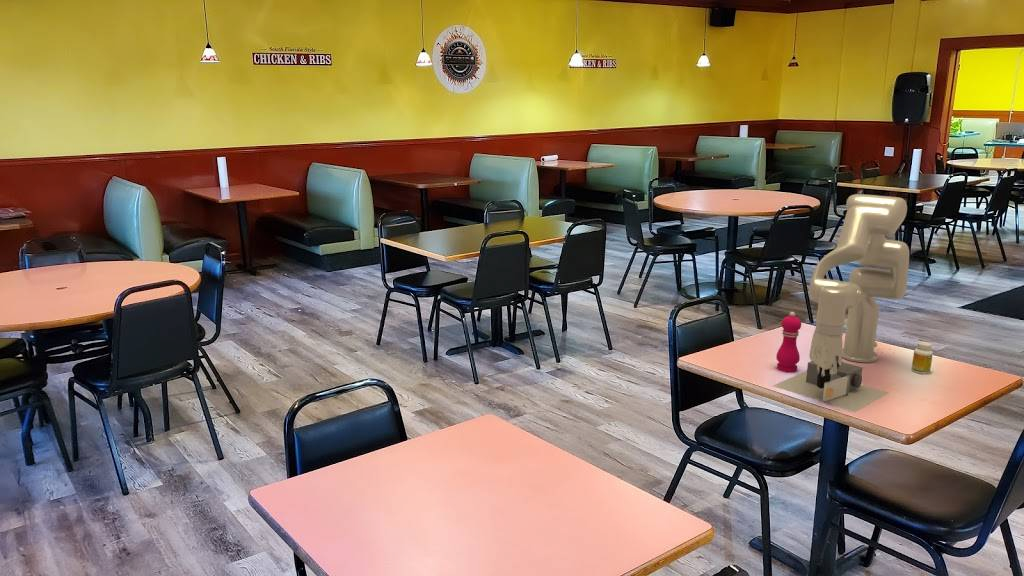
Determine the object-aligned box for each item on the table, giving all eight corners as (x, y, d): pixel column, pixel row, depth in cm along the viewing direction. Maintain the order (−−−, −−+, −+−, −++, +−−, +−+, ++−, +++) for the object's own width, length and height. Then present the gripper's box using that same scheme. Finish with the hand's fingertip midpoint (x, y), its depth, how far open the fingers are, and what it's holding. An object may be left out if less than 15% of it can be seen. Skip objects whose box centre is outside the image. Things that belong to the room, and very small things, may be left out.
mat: (808, 370, 250) (808, 369, 250) (888, 394, 231) (889, 392, 231) (772, 386, 236) (772, 385, 236) (854, 413, 217) (854, 411, 217)
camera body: (820, 375, 245) (822, 354, 243) (864, 388, 235) (867, 366, 233) (805, 382, 239) (807, 360, 237) (850, 395, 229) (853, 373, 227)
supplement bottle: (925, 375, 247) (930, 347, 244) (908, 371, 250) (912, 343, 248) (932, 371, 250) (936, 343, 248) (915, 367, 254) (919, 339, 251)
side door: (821, 401, 224) (824, 382, 222) (845, 393, 230) (847, 374, 228) (828, 403, 222) (831, 384, 220) (852, 396, 228) (854, 377, 226)
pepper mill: (801, 374, 247) (807, 315, 242) (779, 373, 247) (785, 314, 242) (793, 366, 254) (800, 308, 249) (772, 366, 254) (777, 308, 249)
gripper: (804, 321, 228) (798, 378, 233) (831, 337, 214) (824, 397, 219) (827, 320, 229) (821, 377, 234) (856, 336, 215) (848, 396, 219)
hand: (822, 387), depth 226 cm, fingers closed
